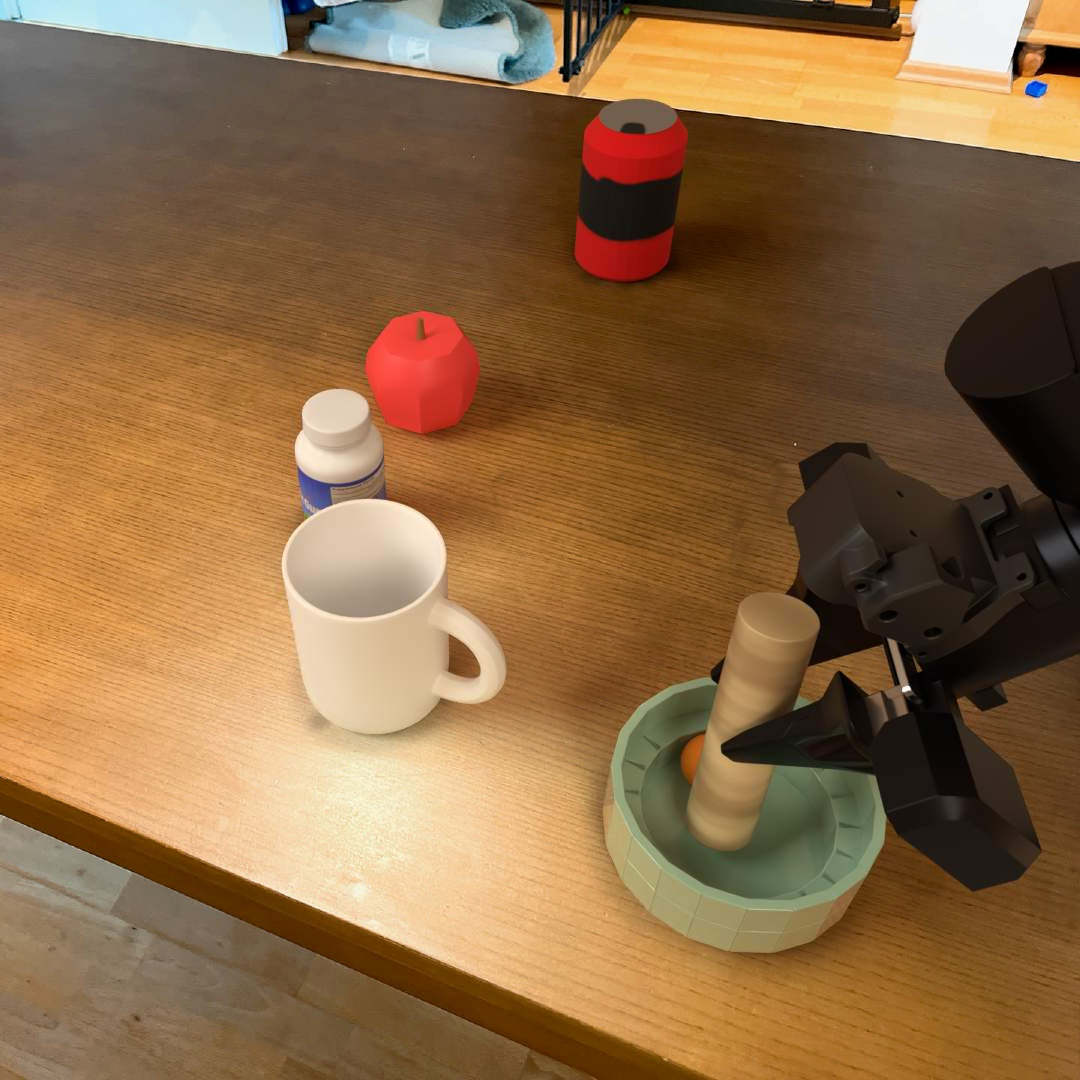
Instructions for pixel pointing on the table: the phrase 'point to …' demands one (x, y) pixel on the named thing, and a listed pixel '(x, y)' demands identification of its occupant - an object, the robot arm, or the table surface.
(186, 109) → the table surface
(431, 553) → the mug
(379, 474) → the pill bottle
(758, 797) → the stick
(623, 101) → the soda can
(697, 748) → the bead
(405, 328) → the apple
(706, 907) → the bowl
